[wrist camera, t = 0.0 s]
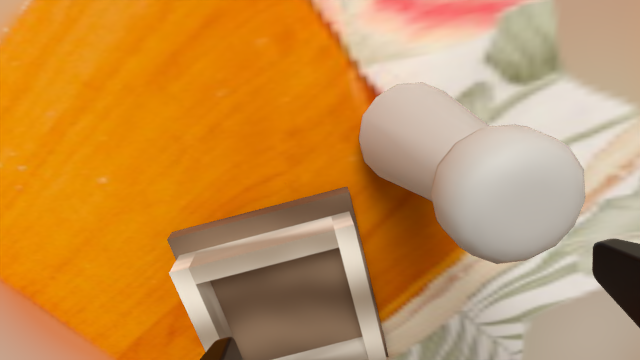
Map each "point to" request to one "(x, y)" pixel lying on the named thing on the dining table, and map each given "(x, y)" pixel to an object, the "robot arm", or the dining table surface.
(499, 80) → the dining table surface
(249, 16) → the dining table surface
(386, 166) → the salt shaker
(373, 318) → the shaker stand
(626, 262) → the robot arm
